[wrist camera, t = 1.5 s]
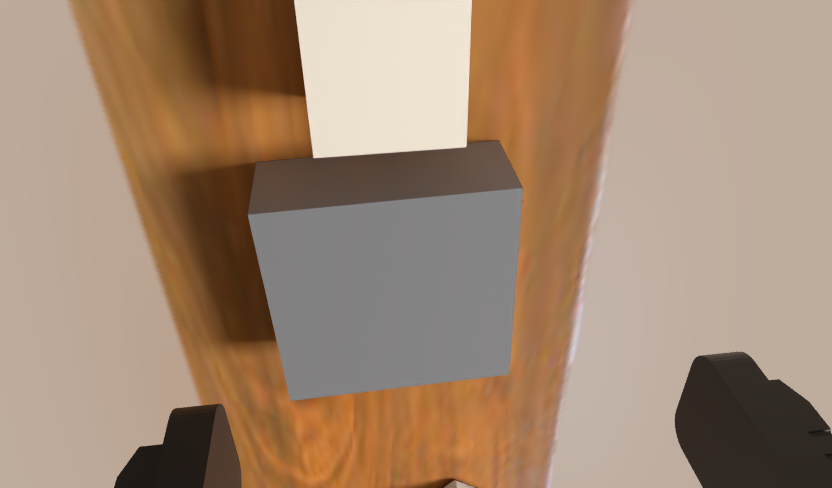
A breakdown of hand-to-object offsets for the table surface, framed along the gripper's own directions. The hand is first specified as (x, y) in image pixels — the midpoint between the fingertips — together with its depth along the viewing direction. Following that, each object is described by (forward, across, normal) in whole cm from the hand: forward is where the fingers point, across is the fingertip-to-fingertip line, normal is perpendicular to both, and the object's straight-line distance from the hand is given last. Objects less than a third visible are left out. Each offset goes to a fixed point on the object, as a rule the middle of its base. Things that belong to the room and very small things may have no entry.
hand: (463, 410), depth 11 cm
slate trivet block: (+22, 0, +12) cm, 25 cm away
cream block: (+21, 0, 0) cm, 21 cm away
